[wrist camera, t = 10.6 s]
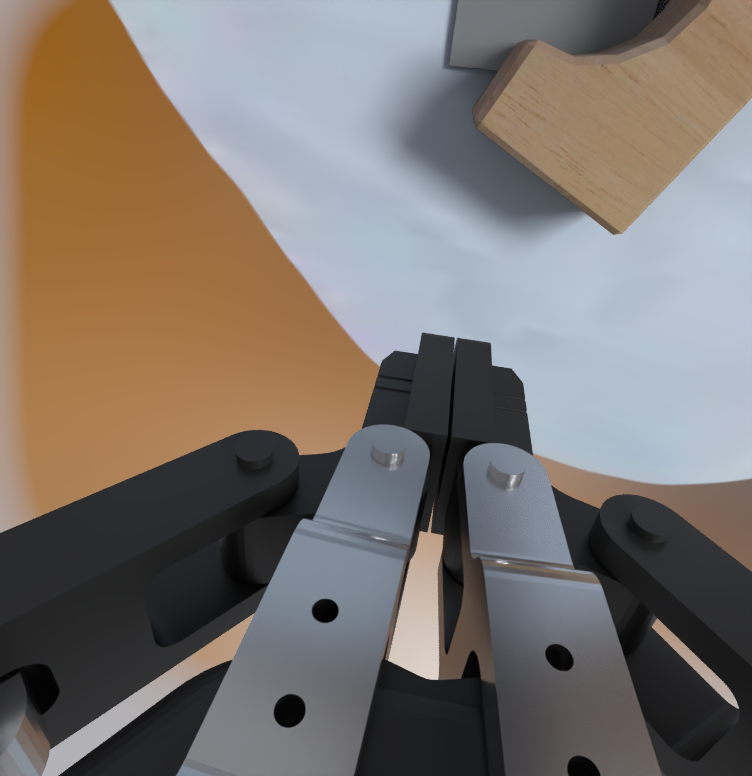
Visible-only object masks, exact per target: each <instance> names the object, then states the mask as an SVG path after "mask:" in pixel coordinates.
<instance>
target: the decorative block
mask: <svg viewBox="0 0 752 776" xmlns="http://www.w3.org/2000/svg"><path fill="white" fill-rule="evenodd" d="M751 98H752V0H670V1H669V2H668V4H667V5H666V7H665V9H664V10H663V11H662V12H661V13H660V14H659V15H658V16H657V17H656V18H655V19H654V20H653V21H651V22H650V23H649V24H648V25H647V26H646V27H645V28H644V29H643V30H642V31H641V32H640V33H639V34H638V35H637V36H636V37H635V38H633V39H630V40H628V41H625V42H623V43H620V44H618V45H615V46H613V47H610V48H608V49H605V50H603V51H600V52H598V53H592V54H571V55H570V54H567V53H565V52H563V51H561V50H559V49H557V48H555V47H553V46H551V45H549V44H547V43H544V42H542V41H540V40H538V39H537V40H524V41H521V42H518V43H517V44H516V45H515V47H514V48H513V50H512V51H511V53H510V54H509V56H508V57H507V58H506V60H505V61H504V63H503V64H502V66H501V67H500V69H499V70H498V72H497V73H496V75H495V76H494V78H493V79H492V81H491V82H490V84H489V85H488V87H487V88H486V89H485V91H484V92H483V94H482V95H481V97H480V98H479V100H478V101H477V103H476V104H475V106H474V107H473V109H472V111H473V119H474V122H475V125H476V128H477V129H478V130H480V131H481V132H482V133H483V134H485V135H486V136H487V137H489V138H490V139H491V140H492V141H494V142H495V143H496V144H498V145H499V146H500V147H501V148H503V149H504V150H505V151H507V152H508V153H509V154H510V155H512V156H513V157H514V158H515V159H517V160H518V161H519V162H521V163H522V164H523V165H524V166H526V167H527V168H528V169H530V170H531V171H532V172H533V173H535V174H536V175H537V176H539V177H540V178H541V179H542V180H544V181H545V182H546V183H548V184H549V185H550V186H551V187H553V188H554V189H555V190H557V191H558V192H559V193H560V194H562V195H563V196H564V197H566V198H567V199H568V200H569V201H571V202H572V203H573V204H574V205H576V206H577V207H578V208H580V209H581V210H582V211H583V212H585V213H586V214H587V215H589V216H590V217H591V218H592V219H594V220H595V221H596V222H598V223H599V224H600V225H601V226H603V227H604V228H605V229H607V230H608V231H609V232H610V233H612V234H613V235H616V234H622V233H623V232H624V231H625V230H626V229H627V228H628V227H629V226H630V225H631V224H632V223H633V222H634V221H635V220H636V219H637V218H638V217H639V216H640V215H641V213H642V212H643V211H644V210H645V209H646V208H647V207H648V206H649V205H650V204H651V203H652V202H653V201H654V200H655V199H656V198H657V197H658V196H659V195H660V194H661V192H662V191H663V190H664V189H665V188H666V187H667V186H668V185H669V184H670V183H671V182H672V181H673V180H674V179H675V178H676V177H677V176H678V175H679V174H680V172H681V171H682V170H683V169H684V168H685V167H686V166H687V165H688V164H689V163H690V162H691V161H692V160H693V159H694V158H695V157H696V156H697V155H698V154H699V153H700V152H701V150H702V149H703V148H704V147H705V146H706V145H707V144H708V143H709V142H710V141H711V140H712V139H713V138H714V137H715V136H716V135H717V134H718V133H719V132H720V131H721V130H722V129H723V128H724V126H725V125H726V124H727V123H728V122H729V121H730V120H731V119H732V118H733V117H734V116H735V115H736V114H737V113H738V112H739V111H740V110H741V109H742V108H743V107H744V106H745V105H746V103H747V102H748V101H749V100H750V99H751Z"/></svg>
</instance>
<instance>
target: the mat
mask: <svg viewBox="0 0 752 776" xmlns="http://www.w3.org/2000/svg"><path fill="white" fill-rule="evenodd" d="M658 2H659V0H458V5H457V12H456V19H455V27H454V34H453V41H452V48H451V55H450V62H449V65H451V66H460V67H469V68H478V69H487V70H497V71H498V70H499V69H500V67H501V66H502V64H503V63H504V61H505V60H506V58H507V57H508V56H509V54H510V53H511V51H512V50H513V48H514V47H515V45H516V44H517V43H518V42H521V41H524V40H537V39H538V40H540V41H542V42H544V43H547V44H549V45H551V46H553V47H555V48H557V49H559V50H561V51H563V52H565V53H567V54H570V55H571V54H592V53H598V52H600V51H603V50H605V49H608V48H610V47H613V46H615V45H618V44H620V43H623V42H625V41H628V40H630V39H633V38H635V37H636V36H637V35H638V34H639V33H640V32H641V31H642V30H643V29H644V28H645V27H646V26H647V25H648V24H649V23H650V22H651V21H653V18H654V15H655V12H656V9H657V6H658Z"/></svg>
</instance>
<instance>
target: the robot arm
mask: <svg viewBox="0 0 752 776" xmlns="http://www.w3.org/2000/svg"><path fill="white" fill-rule="evenodd" d="M454 341H455V338H454V337H448V336H441V335H435V334H428V333H422V336H421V341H420V347H419V352H418V354H413V353H407V352H400V351H394V352H393V353H391V354H390V355H389V356H388V357H386V358H385V359H384V360H383V361H382V363H381V366H380V369H379V373H378V377H377V380H376V383H375V387H374V390H373V393H372V396H371V400H370V403H369V406H368V410H367V413H366V416H365V420H364V423H363V426H362V429H361V430H359V431H358V432H356V433H355V434H354V435H353V436H352V437H351V438H350V440H349V441H348V443H347V446H346V447H345V448H343V449H340V450H338V451H335V452H331V453H324V454H313V455H299V453H298V449H297V447H296V446H295V444H294V443H293V442H292V441H291V440H289V439H288V438H287V437H285V436H283V435H281V434H278V433H276V432H272V431H265V430H250V431H244V432H240V433H237V434H234V435H231V436H229V437H226V438H224V439H222V440H219V441H217V442H215V443H212V444H210V445H207V446H205V447H203V448H200V449H198V450H196V451H193V452H191V453H189V454H186V455H184V456H181V457H180V458H177V459H174V460H172V461H170V462H167V463H165V464H163V465H160V466H158V467H155V468H153V469H151V470H148V471H146V472H144V473H142V474H139V475H137V476H134V477H132V478H129V479H127V480H125V481H122V482H120V483H118V484H115V485H113V486H111V487H108V488H106V489H103V490H101V491H99V492H96V493H94V494H92V495H89V496H87V497H85V498H82V499H80V500H78V501H75V502H73V503H71V504H68V505H66V506H63V507H61V508H58V509H56V510H54V511H51V512H49V513H47V514H44V515H42V516H40V517H38V518H35V519H33V520H30V521H28V522H25V523H23V524H21V525H18V526H16V527H14V528H11V529H9V530H7V531H4V532H2V533H0V776H41V775H42V773H43V771H44V769H45V766H46V763H47V760H48V757H49V750H50V749H51V748H53V747H55V746H56V745H58V744H59V743H60V742H62V741H64V740H65V739H66V738H68V737H70V736H71V735H72V734H74V733H75V732H77V731H78V730H80V729H81V728H83V727H84V726H86V725H87V724H89V723H90V722H92V721H93V720H95V719H96V718H98V717H99V716H101V715H102V714H104V713H105V712H107V711H108V710H110V709H111V708H113V707H114V706H116V705H117V704H119V703H120V702H122V701H123V700H125V699H126V698H128V697H129V696H131V695H132V694H134V693H135V692H137V691H138V690H140V689H141V688H143V687H144V686H146V685H147V684H149V683H150V682H152V681H153V680H155V679H156V678H158V677H159V676H161V675H162V674H164V673H165V672H167V671H168V670H170V669H171V668H173V667H174V666H176V665H177V664H179V663H180V662H182V661H183V660H185V659H186V658H187V657H189V656H191V655H192V654H194V653H195V652H197V651H198V650H200V649H201V648H203V647H204V646H206V645H207V644H209V643H210V642H212V641H213V640H214V639H216V638H218V637H219V636H221V635H222V634H223V633H225V632H227V631H228V630H230V629H231V628H233V627H234V626H236V625H237V624H239V623H240V622H242V621H243V620H245V619H246V618H248V617H249V616H250V615H252V614H254V613H255V614H254V616H253V618H252V621H251V623H250V625H249V627H248V629H247V631H246V633H245V635H244V638H243V639H242V641H241V644H240V646H239V648H238V650H237V652H236V654H235V656H234V658H233V660H230V661H227V662H224V663H222V664H219V665H217V666H215V667H213V668H210V669H208V670H206V671H204V672H202V673H200V674H199V675H197V676H195V677H193V678H192V679H190V680H188V681H186V682H185V683H184V684H182V685H181V686H179V687H178V688H176V689H175V690H173V691H172V692H171V693H169V694H168V695H167V696H165V697H164V698H163V699H161V700H160V701H159V702H157V703H156V704H155V705H153V706H152V707H150V708H149V709H148V710H146V711H145V712H144V713H142V714H141V715H140V716H138V717H137V718H136V719H134V720H133V721H132V722H130V723H129V724H128V725H127V726H125V727H124V728H122V729H121V730H119V731H118V732H117V733H116V734H114V735H113V736H111V737H110V738H109V739H107V740H106V741H105V742H103V743H102V744H101V745H99V746H98V747H97V748H95V749H94V750H92V751H91V752H90V753H88V754H87V755H86V756H84V757H83V758H82V759H80V760H79V761H78V762H76V763H75V764H74V765H72V766H71V767H69V768H68V769H67V770H65V771H64V772H63V773H61V774H60V775H59V776H752V572H751V571H750V570H749V569H747V568H746V567H745V566H744V565H742V564H741V563H740V562H738V561H737V560H736V559H735V558H733V557H732V556H731V555H729V554H728V553H727V552H726V551H724V550H723V549H722V548H720V547H719V546H718V545H717V544H715V543H714V542H713V541H711V540H710V539H709V538H708V537H706V536H705V535H704V534H702V533H701V532H700V531H699V530H697V529H696V528H694V527H693V526H692V525H691V524H689V523H688V522H687V521H686V520H684V519H683V518H682V517H680V516H679V515H678V514H677V513H675V512H674V511H672V510H671V509H669V508H668V507H666V506H664V505H663V504H661V503H658V502H656V501H654V500H651V499H648V498H645V497H642V496H637V495H624V494H623V495H616V496H613V497H611V498H609V499H607V500H606V501H605V502H604V503H603V505H602V506H601V508H600V509H599V508H596V507H594V506H591V505H589V504H586V503H584V502H582V501H579V500H576V499H574V498H572V497H570V496H568V495H566V494H564V493H562V492H560V491H559V490H557V489H556V488H554V487H553V486H552V485H551V484H550V480H549V476H548V474H547V471H546V469H545V468H544V466H543V465H542V464H541V463H540V462H539V461H538V460H537V459H536V458H535V457H534V456H533V452H532V445H531V438H530V430H529V423H528V416H527V413H526V411H527V409H526V402H525V394H524V387H523V383H522V381H521V380H520V379H519V378H518V376H517V375H516V374H515V373H514V371H513V370H512V369H510V368H504V367H497V366H492V358H491V343H488V342H481V341H475V340H468V339H462V338H457V340H456V345H455V349H454ZM433 503H434V505H433ZM432 507H433V516H432V527H431V533H435V534H441V535H444V537H443V550H442V554H441V558H440V563H439V567H438V615H439V616H438V617H439V679H438V680H430V679H425V678H423V677H420V676H418V675H416V674H414V673H412V672H410V671H408V670H406V669H404V668H402V667H400V666H398V665H396V664H393V663H392V662H389V661H388V658H389V654H390V649H391V645H392V640H393V636H394V631H395V627H396V623H397V618H398V614H399V609H400V605H401V600H402V596H403V591H404V586H405V582H406V578H407V574H408V569H409V564H410V560H411V558H412V557H413V555H414V553H415V551H416V547H417V542H418V537H419V532H420V531H423V532H427V531H428V527H429V522H430V517H431V513H432ZM657 618H658V619H659V620H660V621H661V622H662V623H663V624H664V625H665V626H666V627H667V628H668V629H669V630H670V631H671V632H673V633H674V634H675V635H676V636H677V637H678V638H679V639H680V640H681V641H682V642H683V643H684V644H685V645H686V646H687V647H688V648H689V649H690V650H691V651H692V652H693V653H694V654H695V655H696V656H697V657H698V658H699V659H700V660H701V661H703V662H704V663H705V664H706V665H707V666H708V667H709V668H710V669H711V670H712V671H713V672H714V673H715V674H716V675H717V676H718V677H719V678H720V679H721V680H722V681H724V683H725V684H726V685H727V686H728V687H729V689H730V690H731V692H732V693H733V695H734V697H735V699H736V701H737V703H738V706H739V709H737V708H735V707H734V706H732V705H731V704H729V703H728V702H727V701H726V700H725V699H724V698H722V697H721V695H720V694H718V693H717V692H716V691H715V690H714V689H713V688H712V687H711V686H710V685H709V684H708V683H707V682H706V681H705V680H704V679H703V678H702V677H701V676H700V675H699V674H698V673H697V672H696V671H695V670H694V669H693V668H692V667H691V666H690V665H689V664H688V663H687V662H686V661H685V660H684V659H683V658H682V657H681V656H680V655H679V654H678V653H677V652H676V651H675V650H674V649H673V648H672V647H671V646H670V645H669V644H668V643H667V642H666V641H665V640H664V639H663V638H662V637H661V636H660V635H659V634H658V633H657V632H656V631H655V630H654V629H653V628H652V625H653V624H654V622H655V621H656V619H657Z"/></svg>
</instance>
